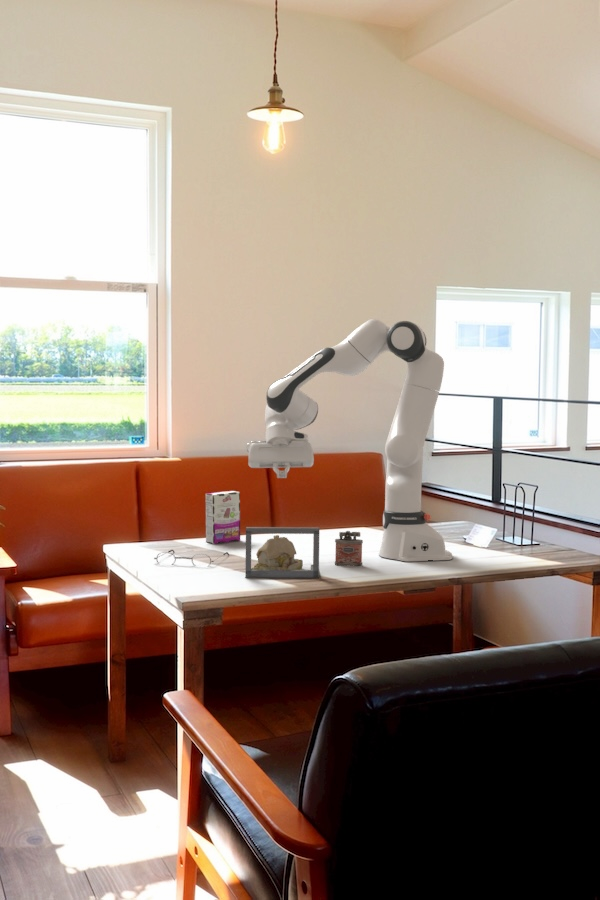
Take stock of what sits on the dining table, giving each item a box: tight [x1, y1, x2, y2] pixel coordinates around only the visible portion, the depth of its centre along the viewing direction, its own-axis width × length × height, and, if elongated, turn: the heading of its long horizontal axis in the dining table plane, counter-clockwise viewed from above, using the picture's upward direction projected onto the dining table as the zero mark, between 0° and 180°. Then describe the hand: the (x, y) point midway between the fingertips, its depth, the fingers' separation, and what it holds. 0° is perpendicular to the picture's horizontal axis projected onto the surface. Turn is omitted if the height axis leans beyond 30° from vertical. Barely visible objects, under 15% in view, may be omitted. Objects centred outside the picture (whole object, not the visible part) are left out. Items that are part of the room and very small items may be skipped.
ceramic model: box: [251, 534, 304, 570], centre depth 264 cm, size 14×11×10 cm
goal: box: [244, 526, 320, 579], centre depth 258 cm, size 20×11×14 cm, turn 93°
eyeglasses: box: [153, 549, 230, 567], centre depth 277 cm, size 18×19×4 cm
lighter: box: [334, 530, 364, 567], centre depth 271 cm, size 8×3×10 cm, turn 82°
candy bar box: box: [204, 490, 241, 545], centre depth 307 cm, size 11×5×16 cm, turn 131°
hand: (281, 476), depth 282 cm, fingers closed
